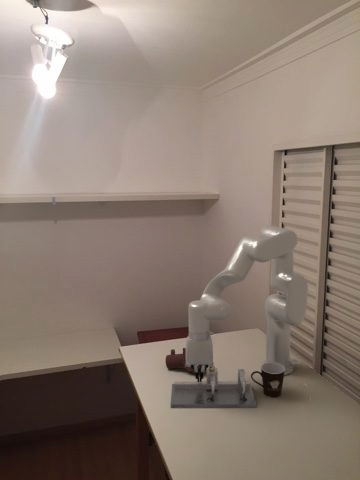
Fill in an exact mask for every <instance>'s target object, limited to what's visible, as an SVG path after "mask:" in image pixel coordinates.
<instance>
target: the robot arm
mask: <svg viewBox="0 0 360 480" xmlns="http://www.w3.org/2000/svg"><path fill="white" fill-rule="evenodd" d="M258 236H259V237H257V236H254V235H253V236H252V235H247V236H243V237H242V238H241V239H240V240H239V242H238V244H237V246H236V247H235V249H234V252H232V254H231V256H230V258H229V260H228V263H227V264H226V266H225V268H224V269H223V270H222V271H221V272H219V273H218V274H216V276H214V277H213V278H212V279H211V280H210V281H209V282H208V283H207V285H206V286H205V288H204V291H203V292H202V295H201V296H200V299H199V300H198V299H197V300H193V301H190V303H189V304H188V308H187V309H188V311H187V313H188V336H187V337H186V339H185V340H186V341H185V348H186V362H185V366H187V367H191V368H192V369H193V370H194V371H195V372H194V374H195V380H196V382H203V381H202V380H204V379H205V378H204V373H205V371H204V370H206V369H207V368H209V367H211V366H215V364H214V363H215V362H214V349H213V340H212V339H213V338H212V336H213V335H214V331H213V330H210V322H222V321H225V320H227V319H229V318H230V316H231V315H232V306H231V304H229V303H228V302H227V301H226V300H224V299H222V298H220V296H221V295H222V293H223V292H224V290H225V289H227V288H228V287H229V286H231V285H234V284H238V283H242V282H244V281H245V280H246V279H247V278H248V275H249V274H250V271H251V270H252V268H253V266H254V264H255V262H258V263H267V262H270V261H271V262H270V263H271V264H270V277H269V281H270V283H269V285H270V287H271V289H272V290H274V291H275V292H278V293H273V294H270V295H269V296H267V298H266V299H265V302H264V312H265V319H266V337H265V338H266V339H265V341H266V345H265V347H266V348H265V349H266V351H265V360H264V361H263V362H262V364H261V366H262V365H263V364H264V363H269V362H273V363H278V364H281V365H283V366H284V367H285V373H284V376H287V375H290V374H292V373H293V371H294V366H298V367H299V366H300V367H302V361H301V360H298V358H291V331H292V330H291V329H292V327H291V326H293V327H297V326H299V325H301V324H302V323H303V321H304V320H305V317H306V313H307V307H308V306H307V303H308V296H309V295H308V293H309V285H308V281H307V279H306V278H305V276H304V275H302V274H300V273H298V272H295V271H294V253H293V250H294V249H295V248H296V247H297V245H298V241H299V240H298V235H297V233H296V232H295V231H293V230H292V229H289V228H284V227H280V226H276V225H264V226H263V227H261V228H260V230H259V234H258ZM198 365H201V368H200V372H199V368H198Z"/></svg>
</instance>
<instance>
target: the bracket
mask: <svg viewBox="0 0 360 480" xmlns="http://www.w3.org/2000/svg"><path fill="white" fill-rule="evenodd" d="M175 350H176V349H170V354H167V355H166V356H165V366H166V368H167V369H168V370H169V369H178V368H180V369H181V368H185V369H186V370H187V371H188V372H190V373H195V371H194V370H193V369H192V368H191V367H187V366H185V362H186V347H183V348H182V353H176V351H175ZM198 368H199V373H200V368H201V365H198ZM204 372H206V370H204Z"/></svg>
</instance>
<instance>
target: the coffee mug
mask: <svg viewBox="0 0 360 480" xmlns="http://www.w3.org/2000/svg"><path fill="white" fill-rule="evenodd" d="M284 373H285V367H284V366H283V365H281V364H278V363H273V362H269V363H264V364H263V365H262V364H261V366H260V371H258V370H254V371H253V372H252V373H251V374H250V378H251V380H252V381H253V382H254V383H256V384H257V385H259V386H260V387H262V391H263V394H264V395H265V396H266V397H268V398H274V399H275V398H279V397H281V395H282V391H283V390H282V389H283V385H284V384H283V383H284V379H285V375H284ZM254 374H259V375H260V376H261V381H262V383H260V382H258V381H257V380H255V379H254V377H253V375H254Z"/></svg>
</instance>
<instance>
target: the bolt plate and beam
mask: <svg viewBox="0 0 360 480" xmlns="http://www.w3.org/2000/svg"><path fill="white" fill-rule="evenodd" d="M170 394H171V396H170V408H178V409H181V408H185V409H186V408H191V409H192V408H197V409H198V408H199V409H200V408H203V409H204V408H206V409H207V408H257V403H256V398H255V395H254V391H253V386H252V384H251V383H250V381H248V380H246V371H245V368H237V380H236V381H230V380H229V381H228V380H227V381H224V380H223V381H219V380H218V389H215V399H212V389H207V381H202V382H200V381H199V382H197V381H174V383H172V384H171V393H170Z"/></svg>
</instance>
